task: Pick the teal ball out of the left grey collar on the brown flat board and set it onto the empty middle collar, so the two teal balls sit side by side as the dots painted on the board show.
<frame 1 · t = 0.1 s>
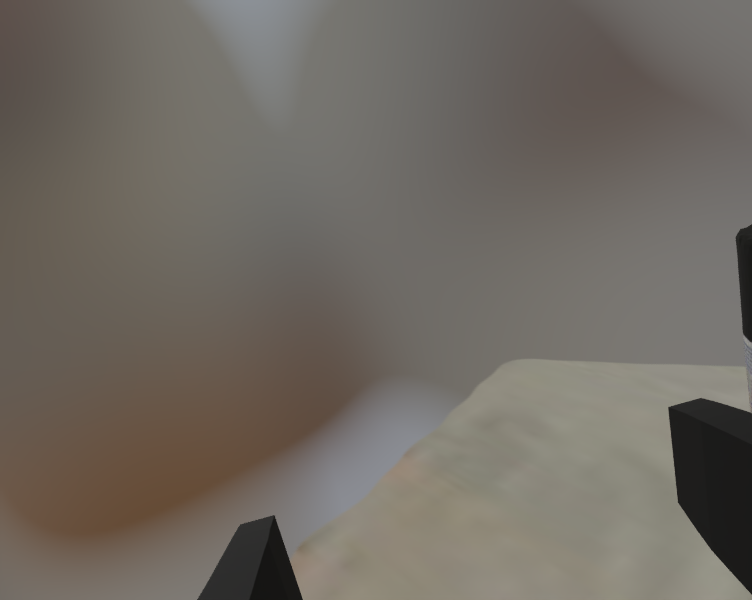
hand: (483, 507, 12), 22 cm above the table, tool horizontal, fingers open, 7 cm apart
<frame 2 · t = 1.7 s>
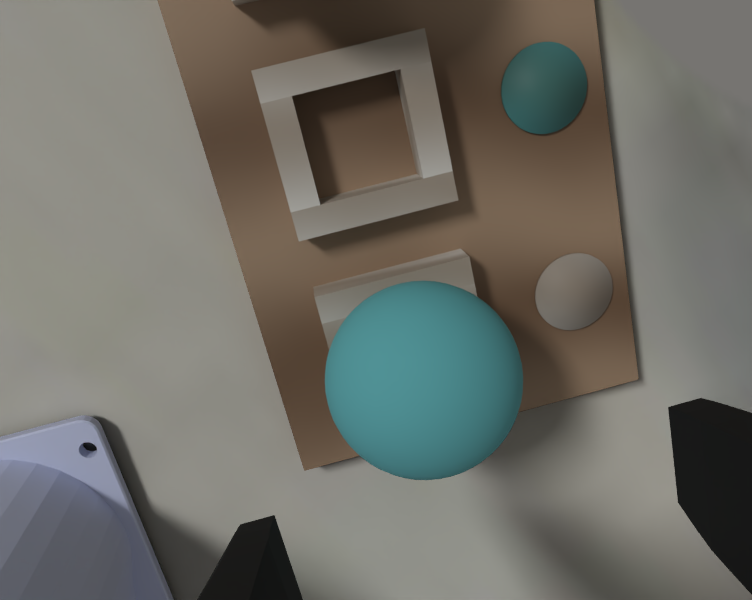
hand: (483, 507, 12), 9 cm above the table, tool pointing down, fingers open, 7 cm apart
teal ball: (422, 378, 17), point 4 cm above the table, touching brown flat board
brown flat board: (404, 121, 19), on the table
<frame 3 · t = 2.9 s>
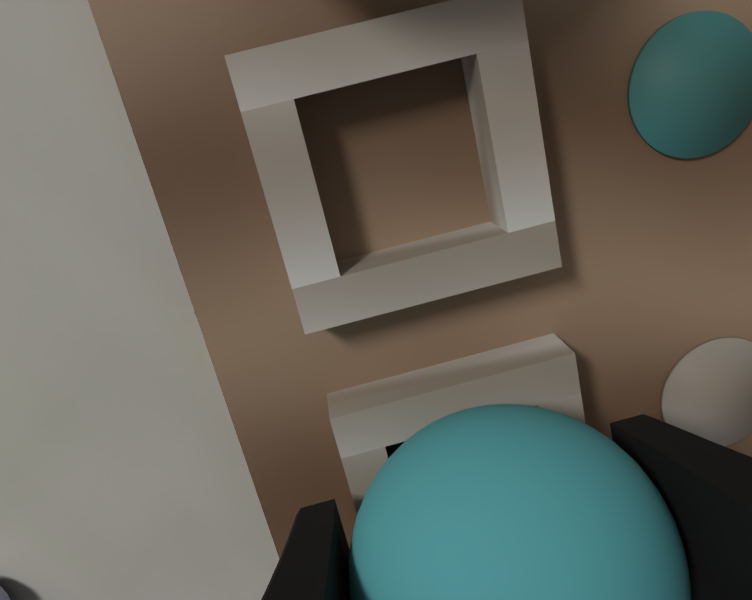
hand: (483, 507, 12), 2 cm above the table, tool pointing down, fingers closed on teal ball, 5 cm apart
teal ball: (511, 568, 10), point 4 cm above the table, touching gripper, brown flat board
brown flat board: (470, 137, 12), on the table
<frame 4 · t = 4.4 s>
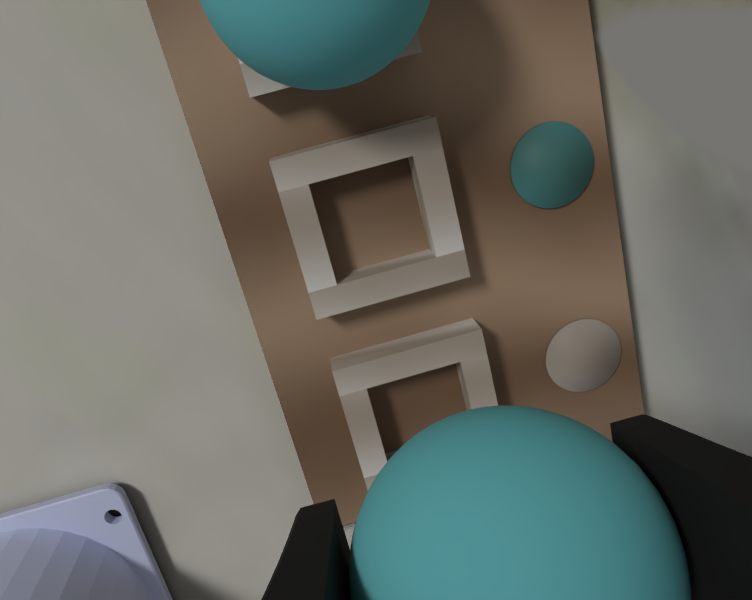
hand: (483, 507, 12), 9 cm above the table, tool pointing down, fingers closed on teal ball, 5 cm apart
teal ball: (511, 569, 10), point 11 cm above the table, touching gripper
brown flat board: (416, 196, 19), on the table
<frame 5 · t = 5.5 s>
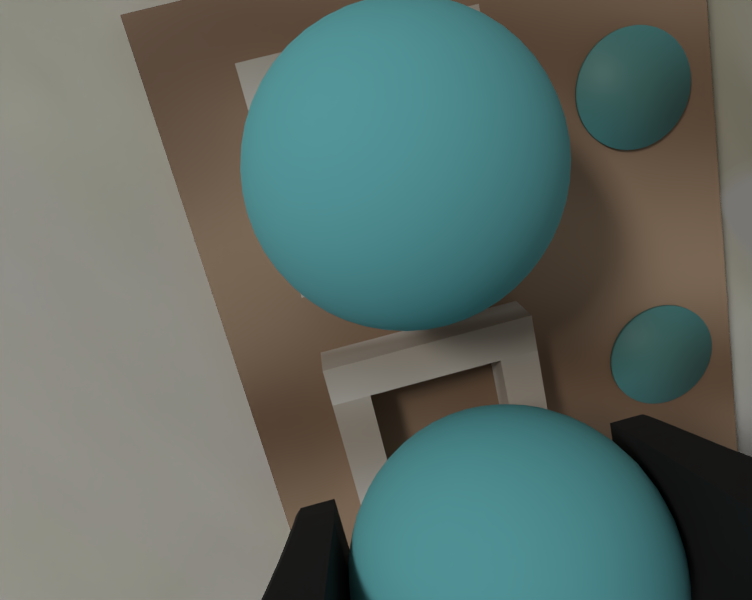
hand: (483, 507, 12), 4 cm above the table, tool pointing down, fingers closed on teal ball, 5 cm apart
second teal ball: (403, 170, 10), point 4 cm above the table, touching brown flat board
teal ball: (511, 568, 10), point 6 cm above the table, touching gripper
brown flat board: (492, 382, 16), on the table
when the fingers open (3 cm above the table, at t = 6.3 s): teal ball stays where it is, resting on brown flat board.
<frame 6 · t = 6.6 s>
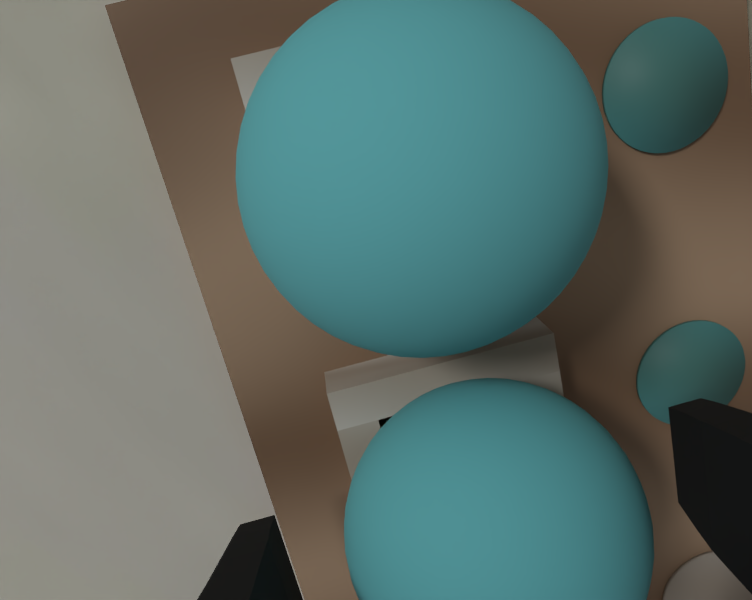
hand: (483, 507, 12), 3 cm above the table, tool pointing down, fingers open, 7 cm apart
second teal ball: (418, 177, 9), point 4 cm above the table, touching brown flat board
teal ball: (492, 527, 11), point 4 cm above the table, touching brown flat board
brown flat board: (508, 402, 15), on the table
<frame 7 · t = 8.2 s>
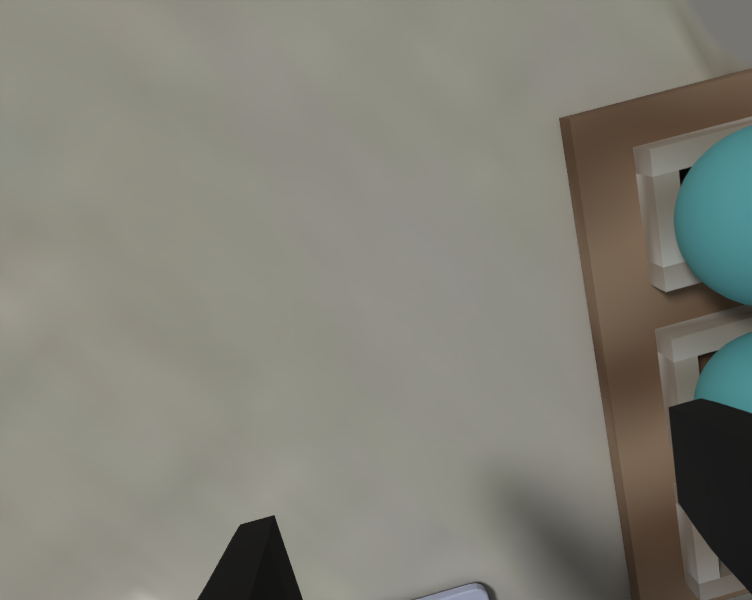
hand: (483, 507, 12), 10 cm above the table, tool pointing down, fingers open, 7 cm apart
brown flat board: (749, 351, 24), on the table
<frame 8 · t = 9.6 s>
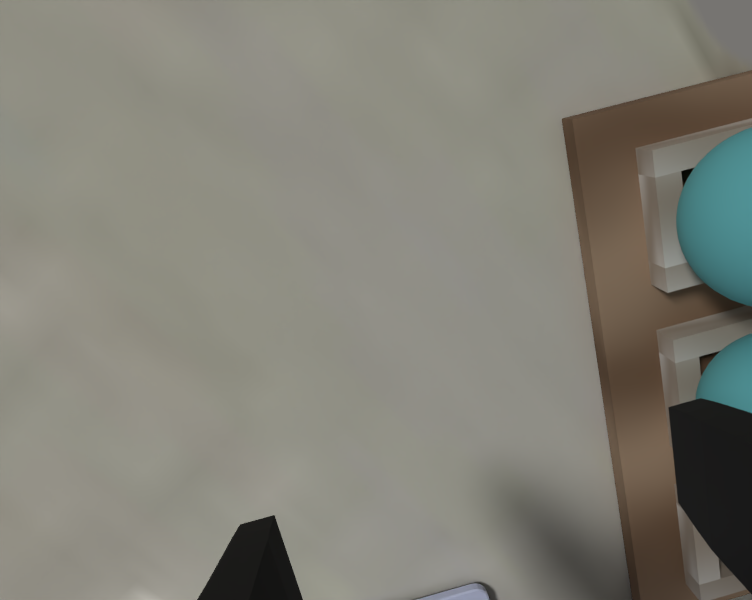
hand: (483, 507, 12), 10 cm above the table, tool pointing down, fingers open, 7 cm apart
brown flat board: (750, 352, 24), on the table
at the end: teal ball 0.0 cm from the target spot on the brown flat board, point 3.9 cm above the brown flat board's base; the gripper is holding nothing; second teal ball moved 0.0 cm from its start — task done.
